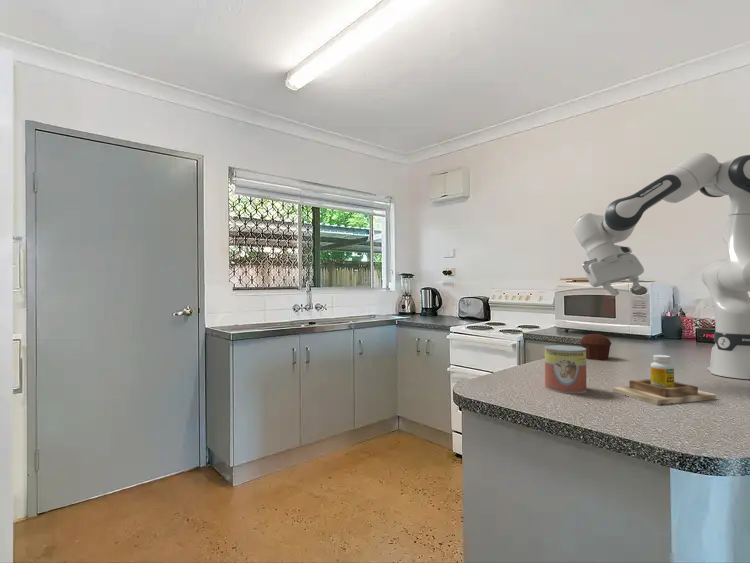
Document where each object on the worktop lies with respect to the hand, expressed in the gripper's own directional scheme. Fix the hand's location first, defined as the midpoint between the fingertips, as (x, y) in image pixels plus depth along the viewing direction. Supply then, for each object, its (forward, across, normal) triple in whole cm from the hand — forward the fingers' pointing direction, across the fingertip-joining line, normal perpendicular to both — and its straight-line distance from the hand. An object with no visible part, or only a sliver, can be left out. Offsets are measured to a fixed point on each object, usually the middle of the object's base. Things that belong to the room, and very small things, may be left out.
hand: (627, 292), depth 138 cm
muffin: (+12, +14, +45) cm, 48 cm away
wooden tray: (+32, -15, -5) cm, 35 cm away
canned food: (+22, -34, +6) cm, 41 cm away
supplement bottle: (+31, -14, -5) cm, 34 cm away
